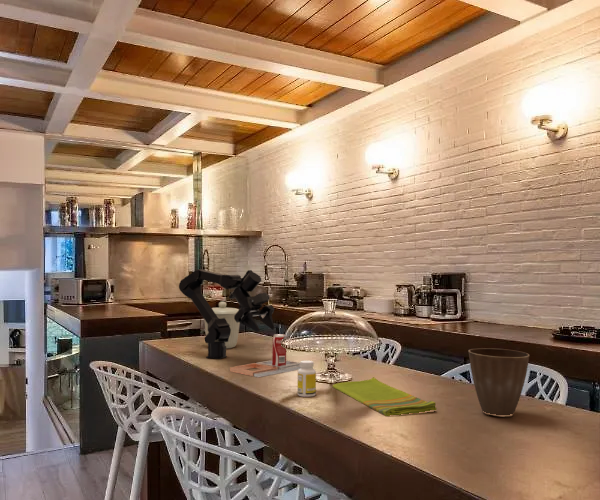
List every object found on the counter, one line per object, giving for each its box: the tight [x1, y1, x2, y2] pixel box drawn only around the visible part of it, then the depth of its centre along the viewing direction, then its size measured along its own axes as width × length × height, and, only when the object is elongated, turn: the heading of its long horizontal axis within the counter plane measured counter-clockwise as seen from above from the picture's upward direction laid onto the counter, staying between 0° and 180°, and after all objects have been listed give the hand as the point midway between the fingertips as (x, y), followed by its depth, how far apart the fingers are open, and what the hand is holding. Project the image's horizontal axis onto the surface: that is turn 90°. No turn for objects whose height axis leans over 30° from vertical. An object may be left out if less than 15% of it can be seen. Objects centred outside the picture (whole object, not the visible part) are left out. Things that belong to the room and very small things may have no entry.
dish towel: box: [332, 376, 437, 417], centre depth 159 cm, size 15×36×3 cm, turn 19°
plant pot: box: [468, 347, 530, 415], centre depth 144 cm, size 15×15×16 cm
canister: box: [203, 301, 240, 350], centre depth 254 cm, size 18×18×21 cm
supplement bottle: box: [297, 360, 317, 398], centre depth 162 cm, size 5×5×10 cm
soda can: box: [271, 333, 287, 366], centre depth 207 cm, size 5×5×12 cm
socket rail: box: [229, 359, 301, 378], centre depth 201 cm, size 25×14×2 cm, turn 138°
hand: (266, 330), depth 211 cm, fingers open, 9 cm apart
